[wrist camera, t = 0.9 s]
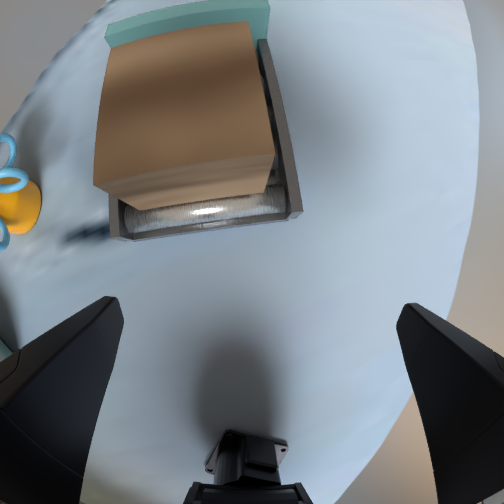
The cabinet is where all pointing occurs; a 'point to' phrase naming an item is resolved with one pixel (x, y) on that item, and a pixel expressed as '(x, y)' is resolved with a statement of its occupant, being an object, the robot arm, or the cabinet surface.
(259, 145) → the brown wooden block
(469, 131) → the cabinet surface
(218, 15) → the stop bar
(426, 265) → the cabinet surface
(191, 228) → the roller bed
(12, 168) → the orange post with rings
